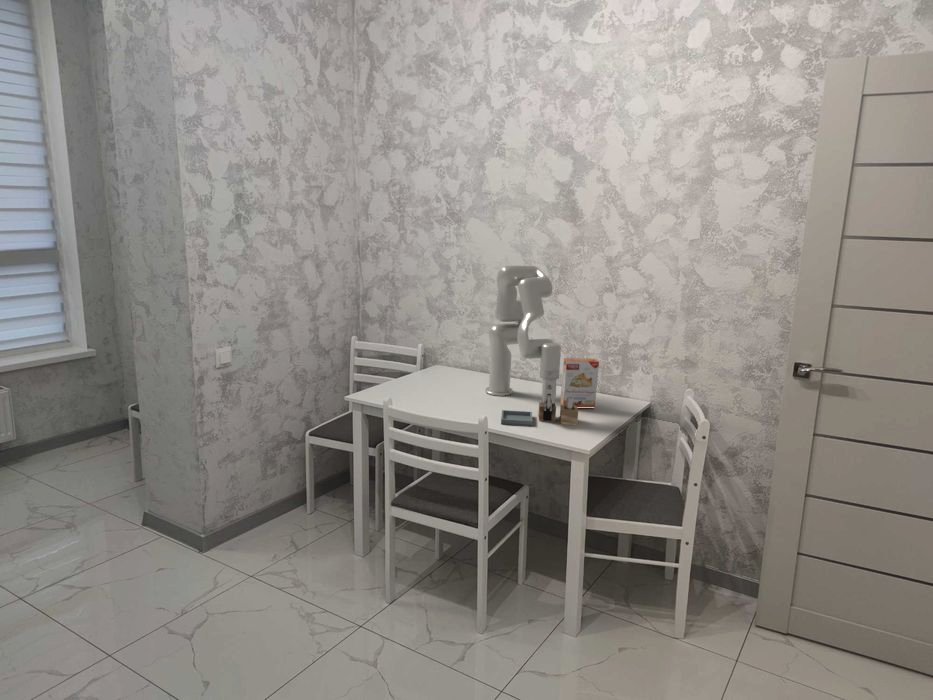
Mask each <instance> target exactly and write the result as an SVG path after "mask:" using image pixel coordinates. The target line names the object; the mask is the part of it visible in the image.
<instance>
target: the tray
mask: <svg viewBox="0 0 933 700" xmlns="http://www.w3.org/2000/svg"><path fill="white" fill-rule="evenodd" d="M500 420H501V421H500V425H507V426H509V425H510V426H523V427H524V426H526V427H533V412H532V411H524V410H523V411H522V410H509V409H508V410H507V409H502V410H501V418H500Z"/></svg>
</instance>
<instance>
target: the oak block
mask: <svg viewBox="0 0 933 700" xmlns="http://www.w3.org/2000/svg"><path fill="white" fill-rule="evenodd" d="M559 410H560V411H559V422H561V423H564V424H563V425H569V424H577V425H578V421H579V419H578V418H579V408H577V406H572V409H566V405H560V409H559ZM561 423H560V424H561Z"/></svg>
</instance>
